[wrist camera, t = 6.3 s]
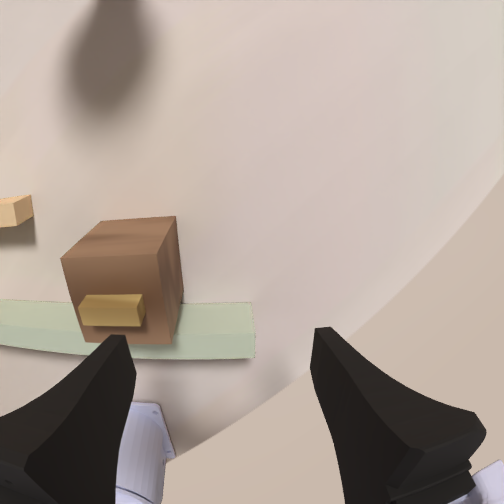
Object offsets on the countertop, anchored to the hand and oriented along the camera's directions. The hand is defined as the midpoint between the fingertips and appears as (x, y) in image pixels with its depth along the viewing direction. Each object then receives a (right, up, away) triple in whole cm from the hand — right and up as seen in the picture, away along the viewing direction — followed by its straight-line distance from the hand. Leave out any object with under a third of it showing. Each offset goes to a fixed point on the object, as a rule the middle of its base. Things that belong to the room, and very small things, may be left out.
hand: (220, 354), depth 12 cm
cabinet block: (-6, +4, +8) cm, 11 cm away
